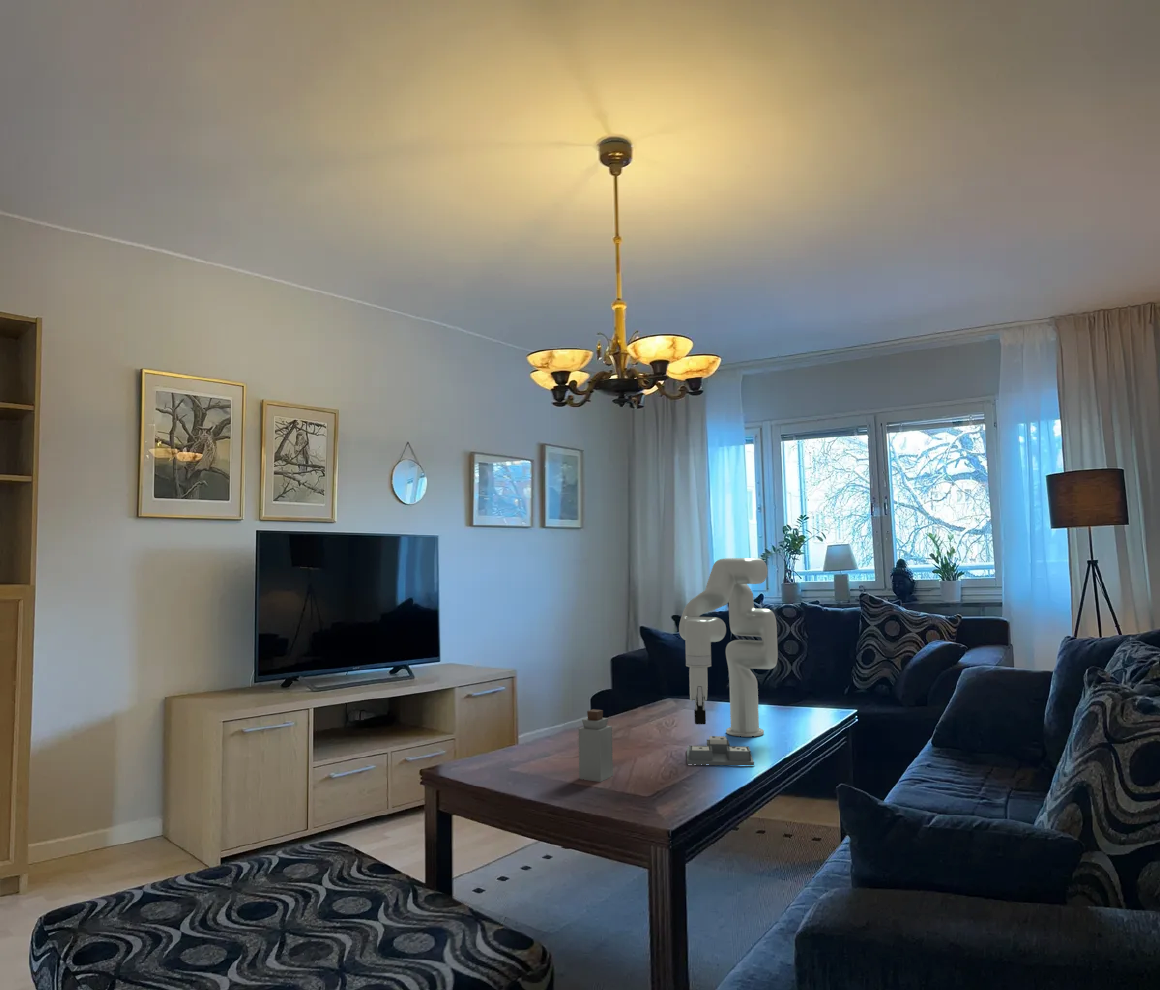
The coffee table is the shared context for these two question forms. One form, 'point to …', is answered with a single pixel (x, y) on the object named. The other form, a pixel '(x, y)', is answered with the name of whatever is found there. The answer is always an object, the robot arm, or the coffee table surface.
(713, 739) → the button two
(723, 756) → the button board
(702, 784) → the coffee table surface
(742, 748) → the button three
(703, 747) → the button one
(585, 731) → the perfume bottle
